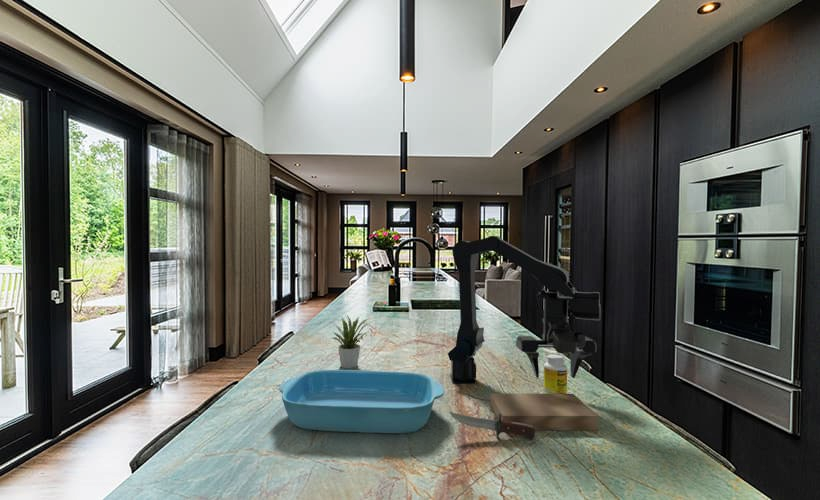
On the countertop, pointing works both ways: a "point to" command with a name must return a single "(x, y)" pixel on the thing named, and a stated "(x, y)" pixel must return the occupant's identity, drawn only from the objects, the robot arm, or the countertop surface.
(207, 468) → the countertop surface
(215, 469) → the countertop surface
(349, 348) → the house plant
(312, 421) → the casserole dish
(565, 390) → the supplement bottle
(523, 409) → the walnut stand
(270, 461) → the countertop surface
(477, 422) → the knife
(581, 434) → the countertop surface
